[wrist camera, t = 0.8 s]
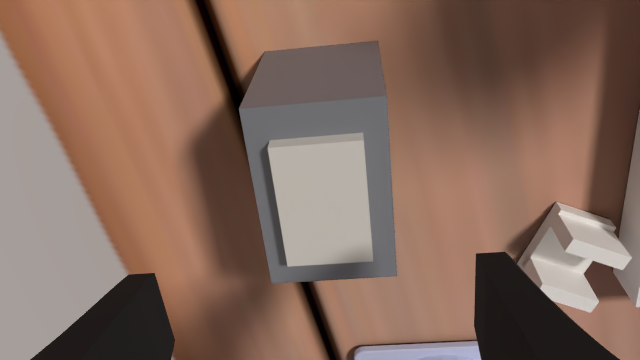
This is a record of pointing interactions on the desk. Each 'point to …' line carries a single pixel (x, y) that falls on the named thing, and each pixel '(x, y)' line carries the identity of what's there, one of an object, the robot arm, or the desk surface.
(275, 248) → the connector plug
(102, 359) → the robot arm
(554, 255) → the clip
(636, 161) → the tray
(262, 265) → the desk surface
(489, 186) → the desk surface
